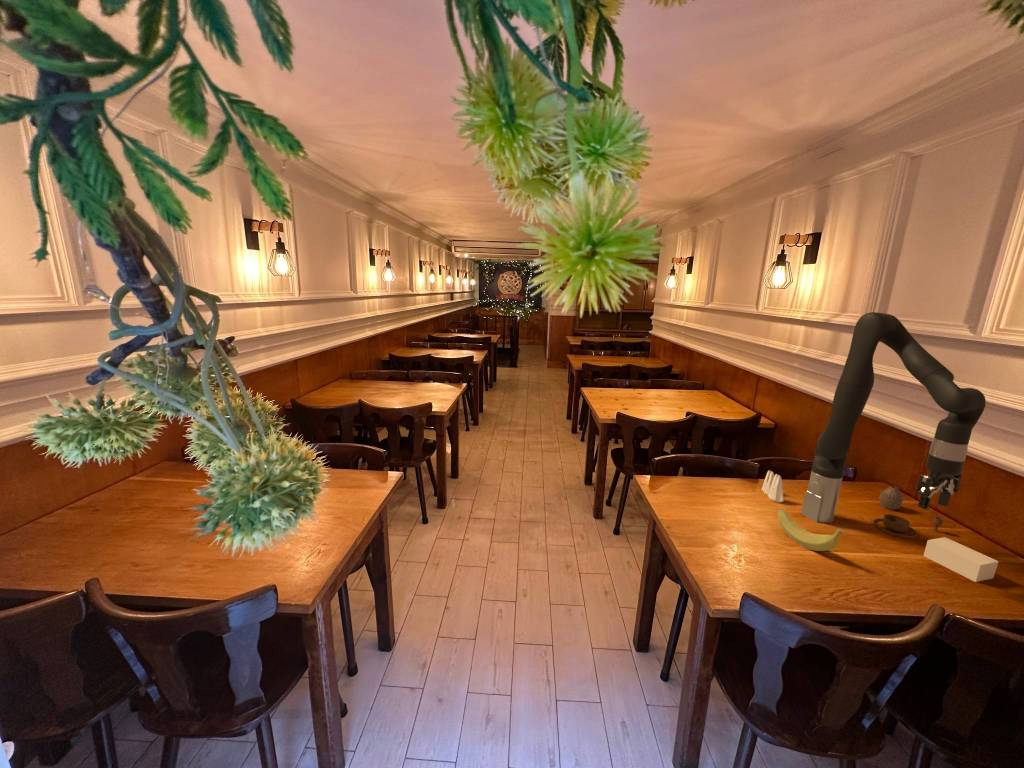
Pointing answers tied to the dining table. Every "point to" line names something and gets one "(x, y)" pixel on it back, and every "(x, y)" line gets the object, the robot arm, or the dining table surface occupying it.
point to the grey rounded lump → (891, 498)
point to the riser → (961, 559)
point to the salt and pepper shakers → (773, 487)
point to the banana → (807, 534)
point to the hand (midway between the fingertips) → (932, 506)
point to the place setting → (902, 525)
